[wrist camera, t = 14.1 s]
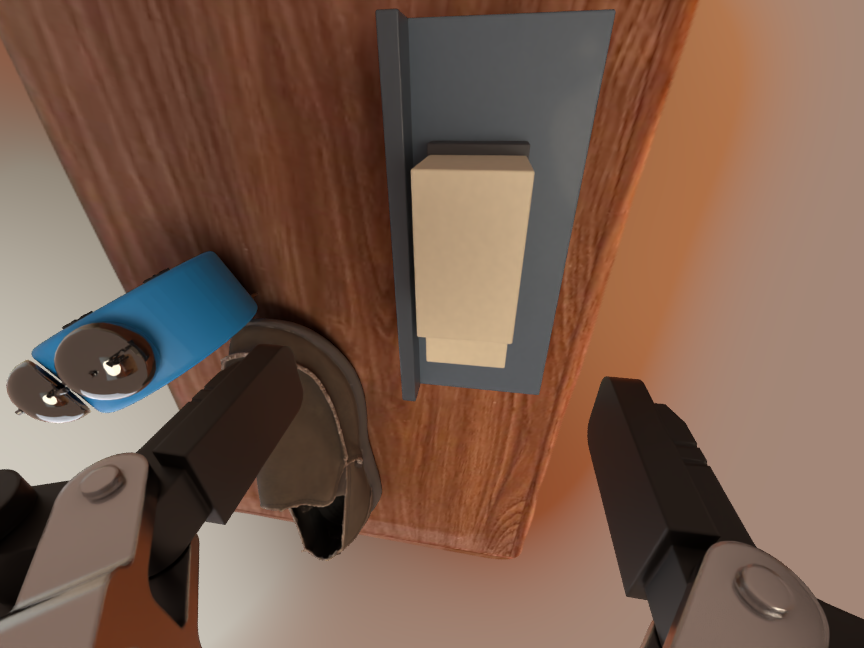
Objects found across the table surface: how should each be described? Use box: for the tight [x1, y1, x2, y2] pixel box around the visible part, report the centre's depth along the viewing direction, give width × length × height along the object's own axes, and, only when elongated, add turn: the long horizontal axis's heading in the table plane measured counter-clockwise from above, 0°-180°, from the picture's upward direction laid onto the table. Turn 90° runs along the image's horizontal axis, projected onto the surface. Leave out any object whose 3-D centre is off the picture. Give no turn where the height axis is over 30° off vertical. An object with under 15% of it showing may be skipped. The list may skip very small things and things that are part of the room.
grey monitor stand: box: [376, 9, 616, 401], centre depth 23 cm, size 22×10×8 cm, turn 1°
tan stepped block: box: [411, 141, 535, 368], centre depth 19 cm, size 12×5×6 cm, turn 1°
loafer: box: [221, 318, 382, 561], centre depth 36 cm, size 11×30×11 cm, turn 13°
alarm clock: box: [6, 251, 257, 423], centre depth 27 cm, size 13×6×15 cm, turn 118°
